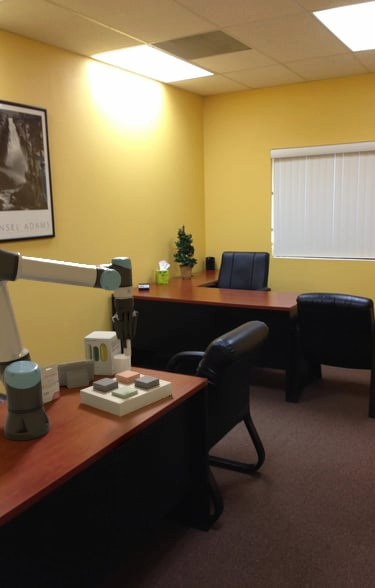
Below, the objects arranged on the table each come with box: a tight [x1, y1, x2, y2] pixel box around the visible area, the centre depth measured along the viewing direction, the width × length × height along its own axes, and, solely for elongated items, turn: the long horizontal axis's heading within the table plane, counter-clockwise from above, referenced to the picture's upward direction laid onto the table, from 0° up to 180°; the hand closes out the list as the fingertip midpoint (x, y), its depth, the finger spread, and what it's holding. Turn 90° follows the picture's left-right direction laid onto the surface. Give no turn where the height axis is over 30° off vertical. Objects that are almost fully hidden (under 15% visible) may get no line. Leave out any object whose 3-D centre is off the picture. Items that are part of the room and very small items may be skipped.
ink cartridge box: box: [40, 362, 61, 405], centre depth 206 cm, size 9×5×15 cm, turn 143°
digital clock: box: [57, 359, 95, 390], centre depth 223 cm, size 16×9×11 cm, turn 103°
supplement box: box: [83, 330, 122, 376], centre depth 241 cm, size 13×13×18 cm
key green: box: [112, 386, 138, 399], centre depth 198 cm, size 7×7×5 cm
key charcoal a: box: [92, 377, 118, 392], centre depth 204 cm, size 7×7×5 cm
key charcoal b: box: [134, 374, 160, 390], centre depth 206 cm, size 7×7×5 cm
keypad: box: [79, 373, 173, 418], centre depth 206 cm, size 28×23×5 cm
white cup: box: [113, 353, 132, 378], centre depth 230 cm, size 8×8×10 cm
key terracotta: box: [116, 370, 141, 384], centre depth 213 cm, size 7×7×5 cm
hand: (127, 355), depth 205 cm, fingers closed
